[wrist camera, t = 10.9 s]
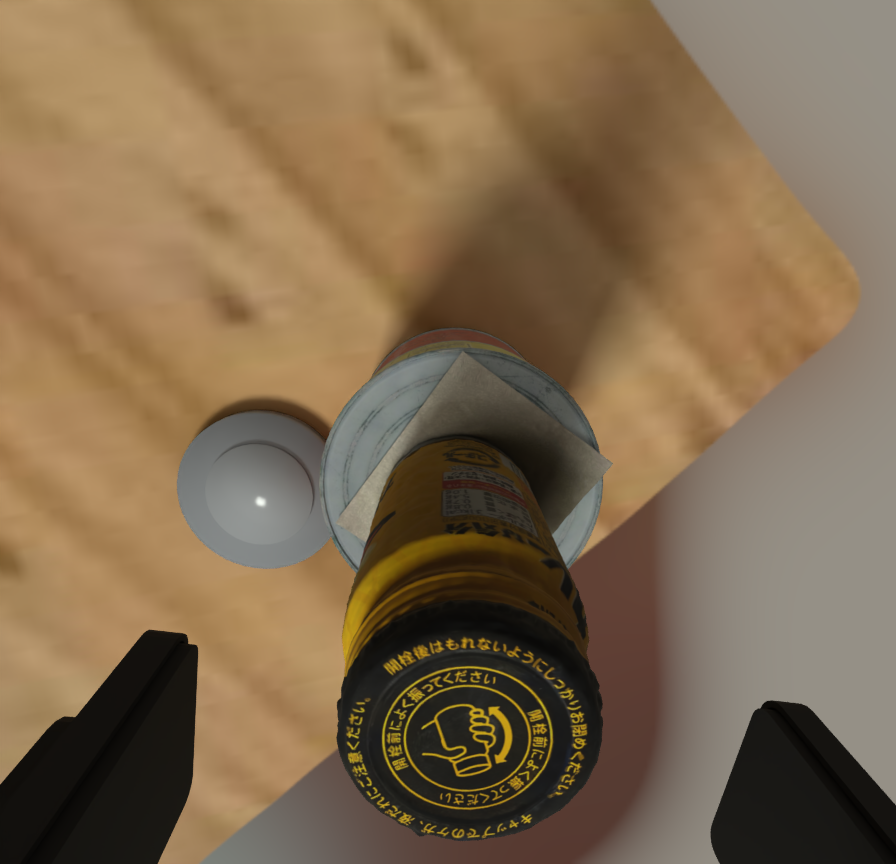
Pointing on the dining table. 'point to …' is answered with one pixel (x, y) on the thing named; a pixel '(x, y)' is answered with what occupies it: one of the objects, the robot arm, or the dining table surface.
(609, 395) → the dining table surface
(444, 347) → the canned food
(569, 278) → the dining table surface
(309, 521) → the saucer
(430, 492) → the condiment
